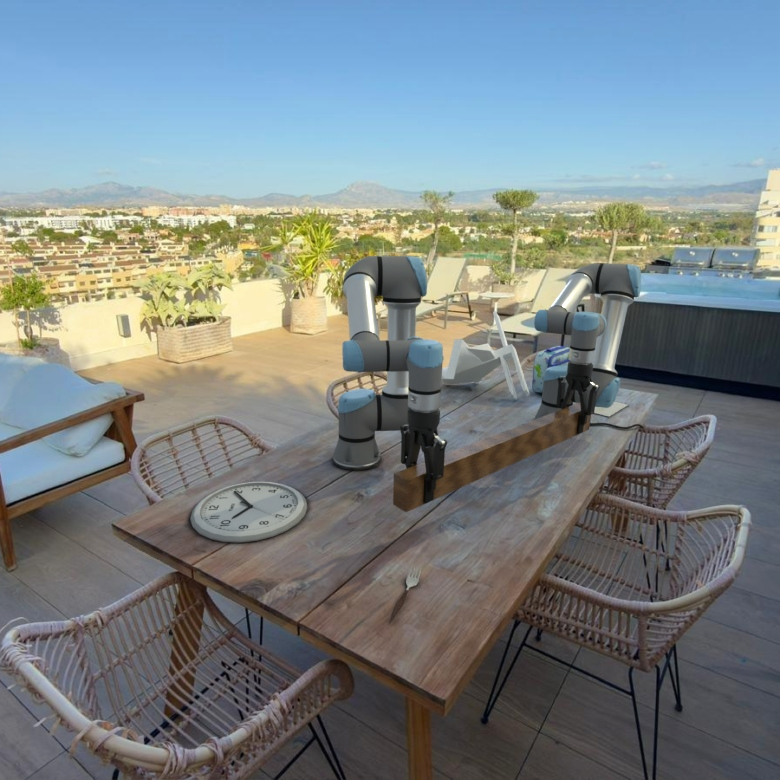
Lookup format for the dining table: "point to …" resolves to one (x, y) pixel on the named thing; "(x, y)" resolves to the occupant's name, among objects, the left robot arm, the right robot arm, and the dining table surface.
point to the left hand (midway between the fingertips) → (420, 496)
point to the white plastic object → (482, 362)
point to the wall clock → (248, 512)
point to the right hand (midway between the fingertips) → (572, 430)
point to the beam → (487, 456)
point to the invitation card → (610, 409)
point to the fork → (410, 583)
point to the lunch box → (548, 364)
